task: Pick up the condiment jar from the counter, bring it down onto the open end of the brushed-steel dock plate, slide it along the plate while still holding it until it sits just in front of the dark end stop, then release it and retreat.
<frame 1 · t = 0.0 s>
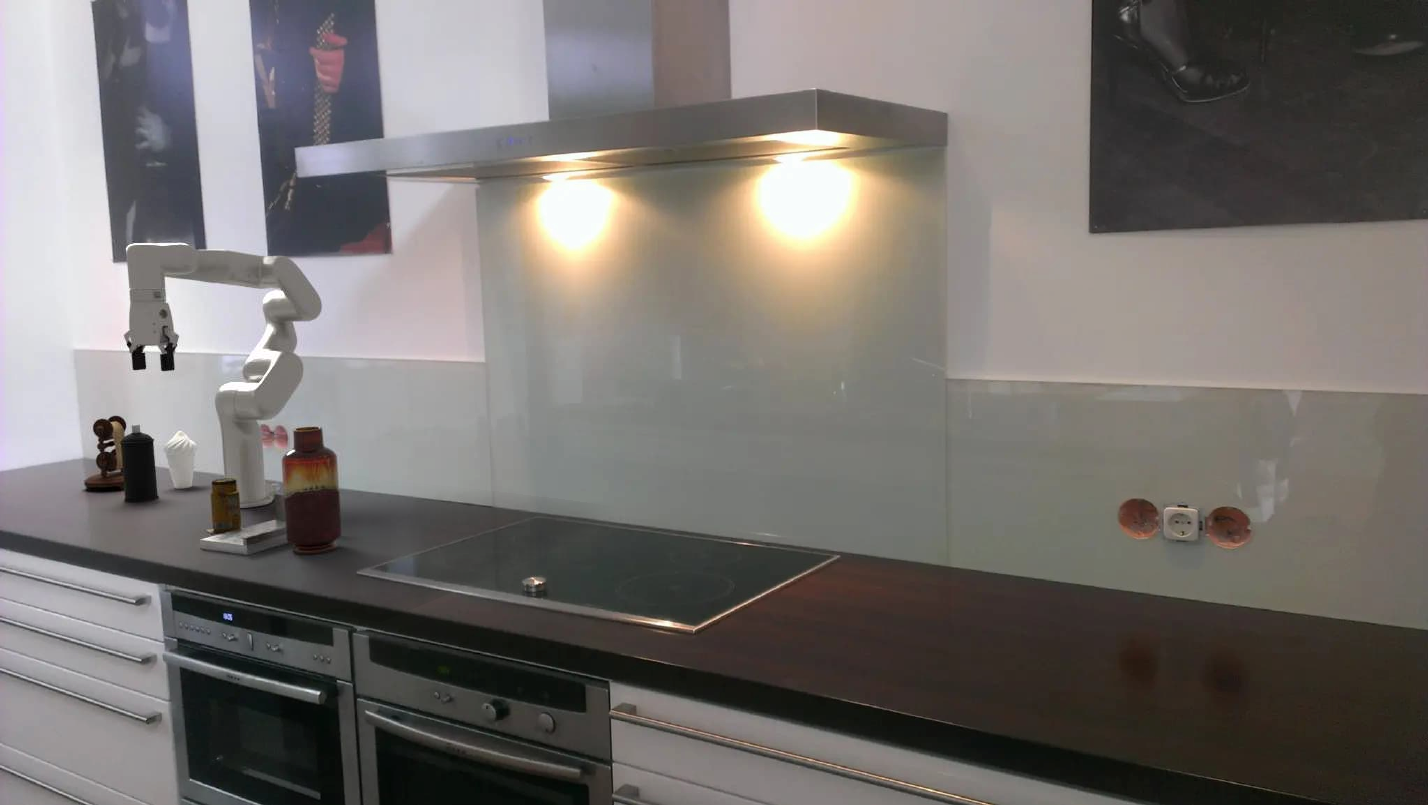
hand: (153, 370, 256), 37 cm above the worktop, tool pointing down, fingers open, 9 cm apart
aerosol can: (141, 500, 290), on the worktop
brown wooden figurine: (114, 488, 308), on the worktop
vase: (315, 550, 233), on the worktop
condiment: (227, 532, 251), on the worktop
soft serve ice cream cone: (183, 487, 306), on the worktop
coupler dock: (264, 540, 242), on the worktop
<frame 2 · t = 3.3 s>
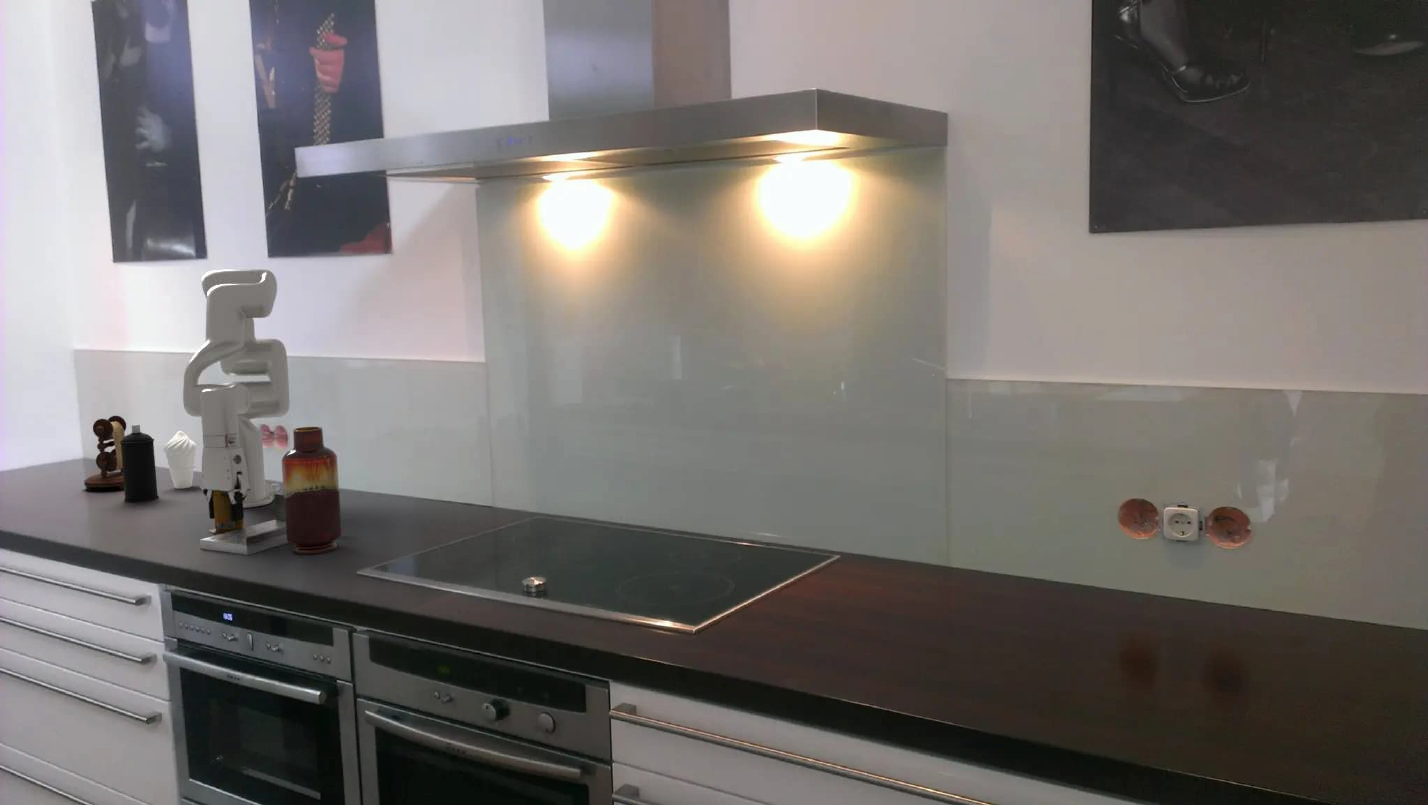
hand: (226, 518, 251), 3 cm above the worktop, tool pointing down, fingers closed on condiment, 6 cm apart
condiment: (230, 532, 251), on the worktop, touching gripper
everything else where it was.
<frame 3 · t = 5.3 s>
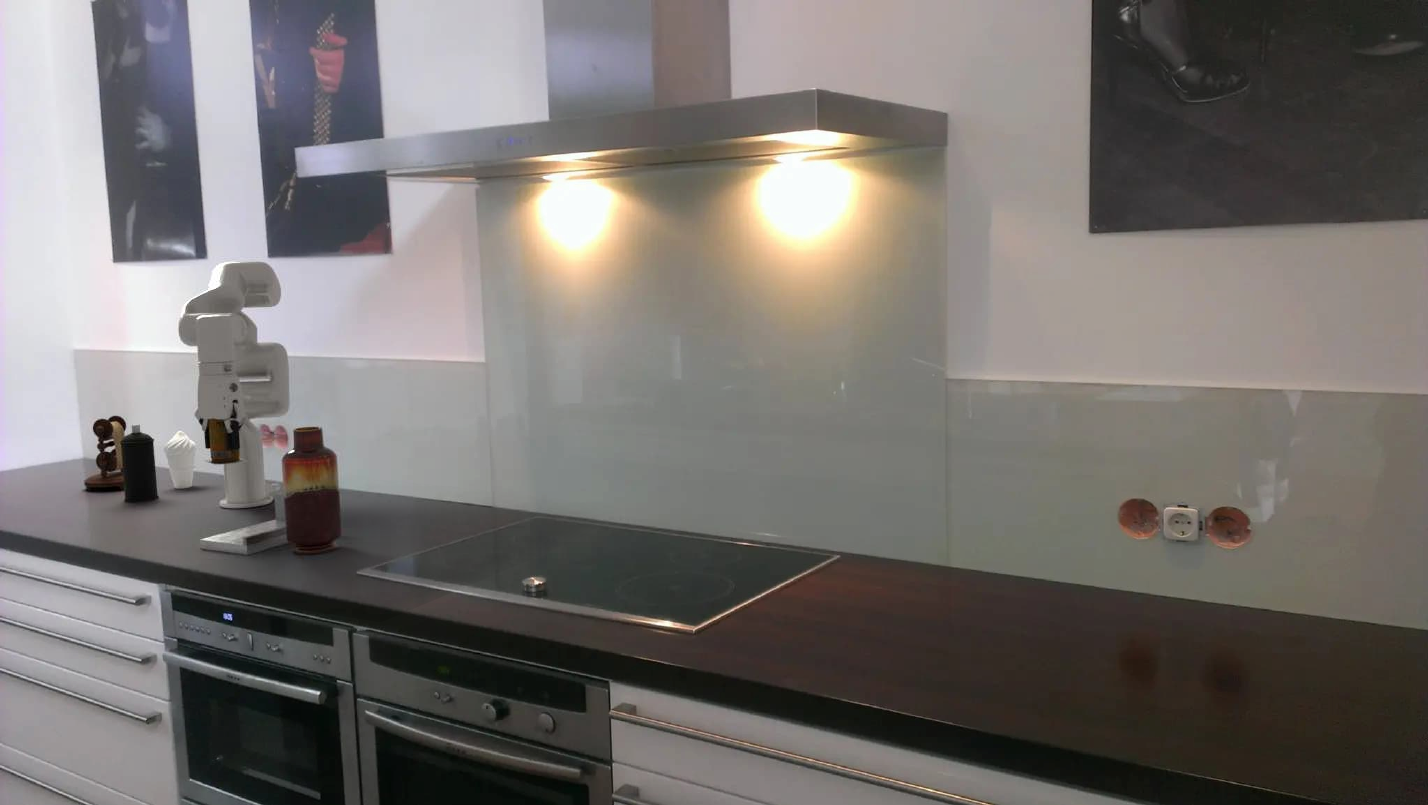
hand: (222, 447, 248), 20 cm above the worktop, tool pointing down, fingers closed on condiment, 6 cm apart
condiment: (226, 462, 248), point 16 cm above the worktop, touching gripper
everything else where it was.
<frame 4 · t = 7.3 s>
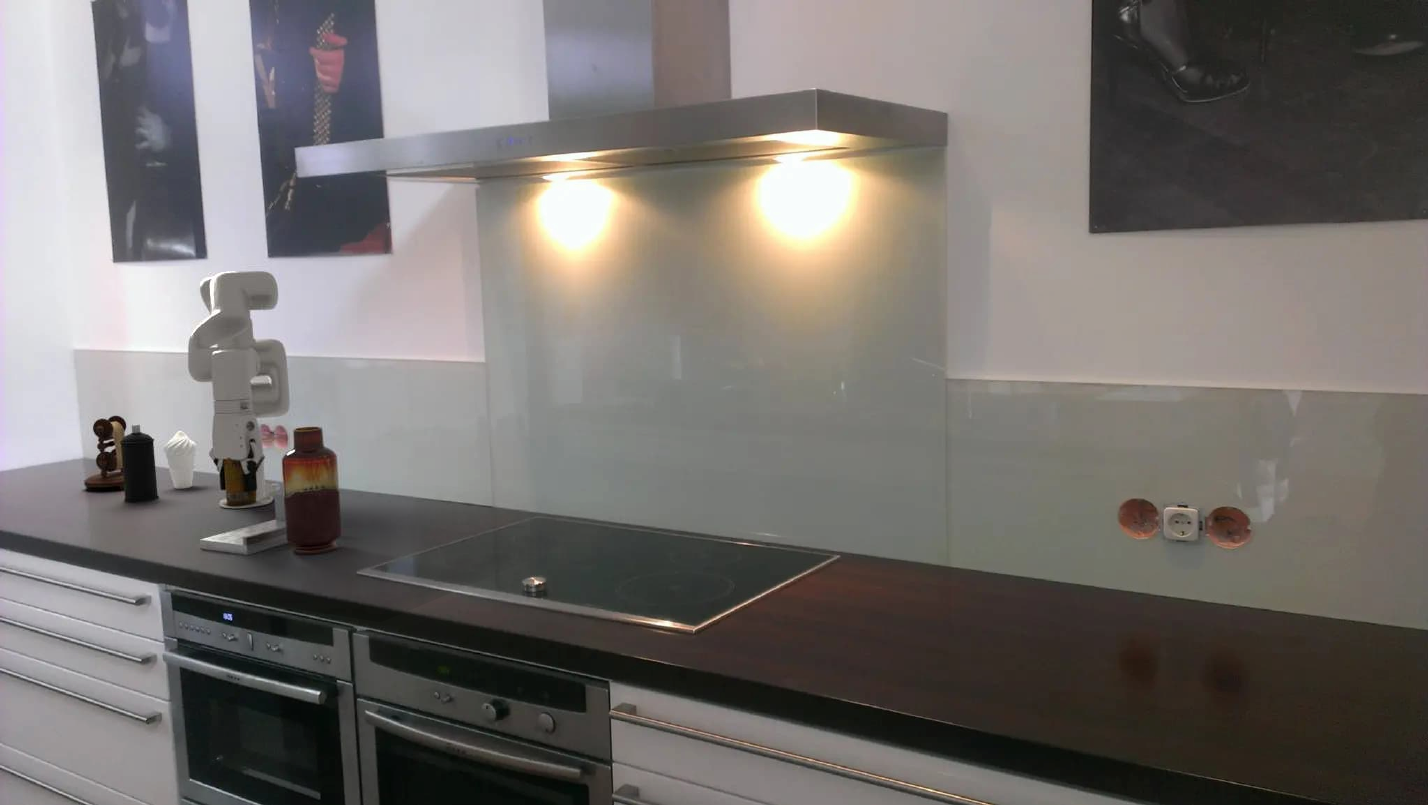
hand: (238, 489, 235), 13 cm above the worktop, tool pointing down, fingers closed on condiment, 6 cm apart
condiment: (242, 504, 235), point 9 cm above the worktop, touching gripper
everything else where it was.
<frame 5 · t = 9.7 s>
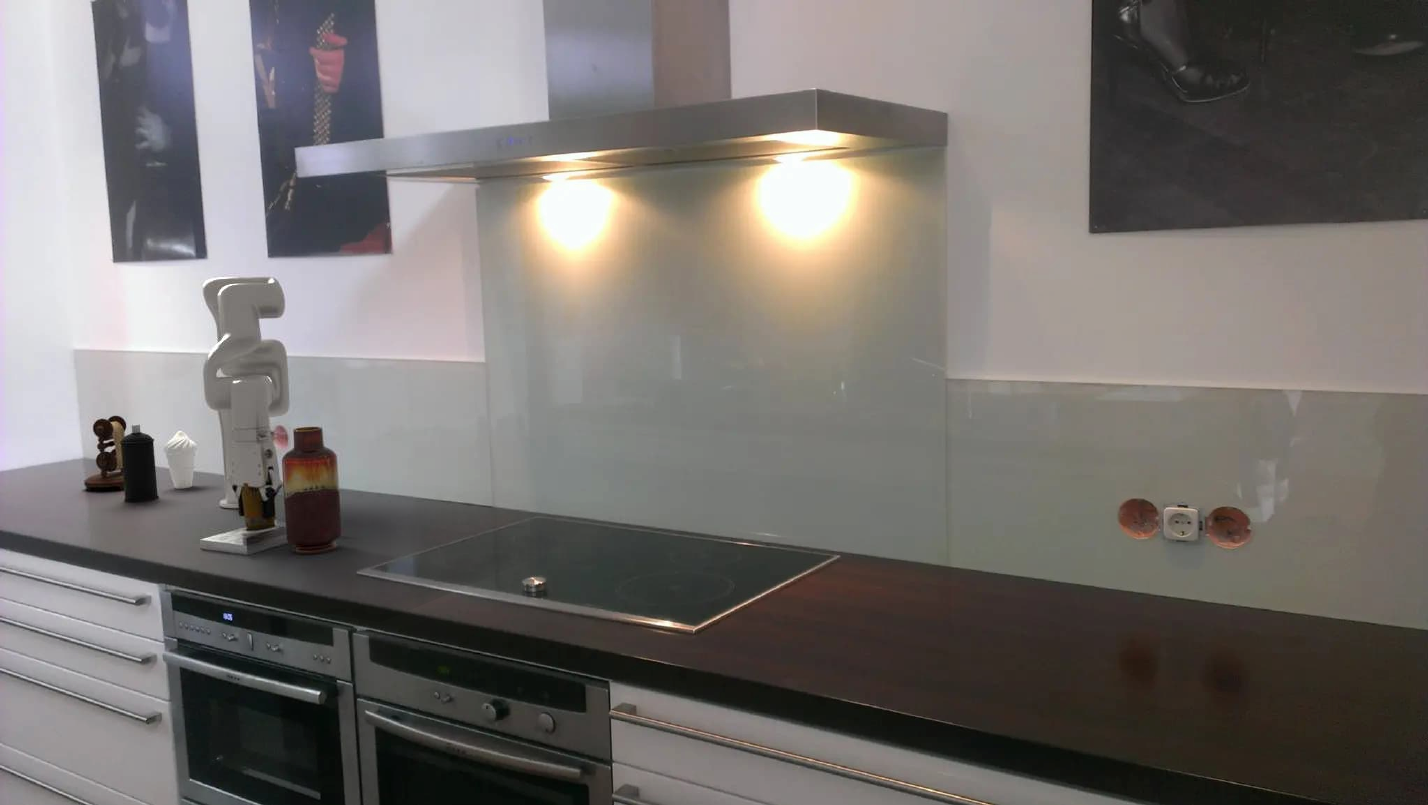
hand: (257, 515, 240), 6 cm above the worktop, tool pointing down, fingers closed on condiment, 6 cm apart
condiment: (261, 529, 240), point 3 cm above the worktop, touching gripper
everything else where it was.
when the fingers open (6 cm above the worktop, at t = 11.5 s): condiment stays where it is, resting on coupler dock.
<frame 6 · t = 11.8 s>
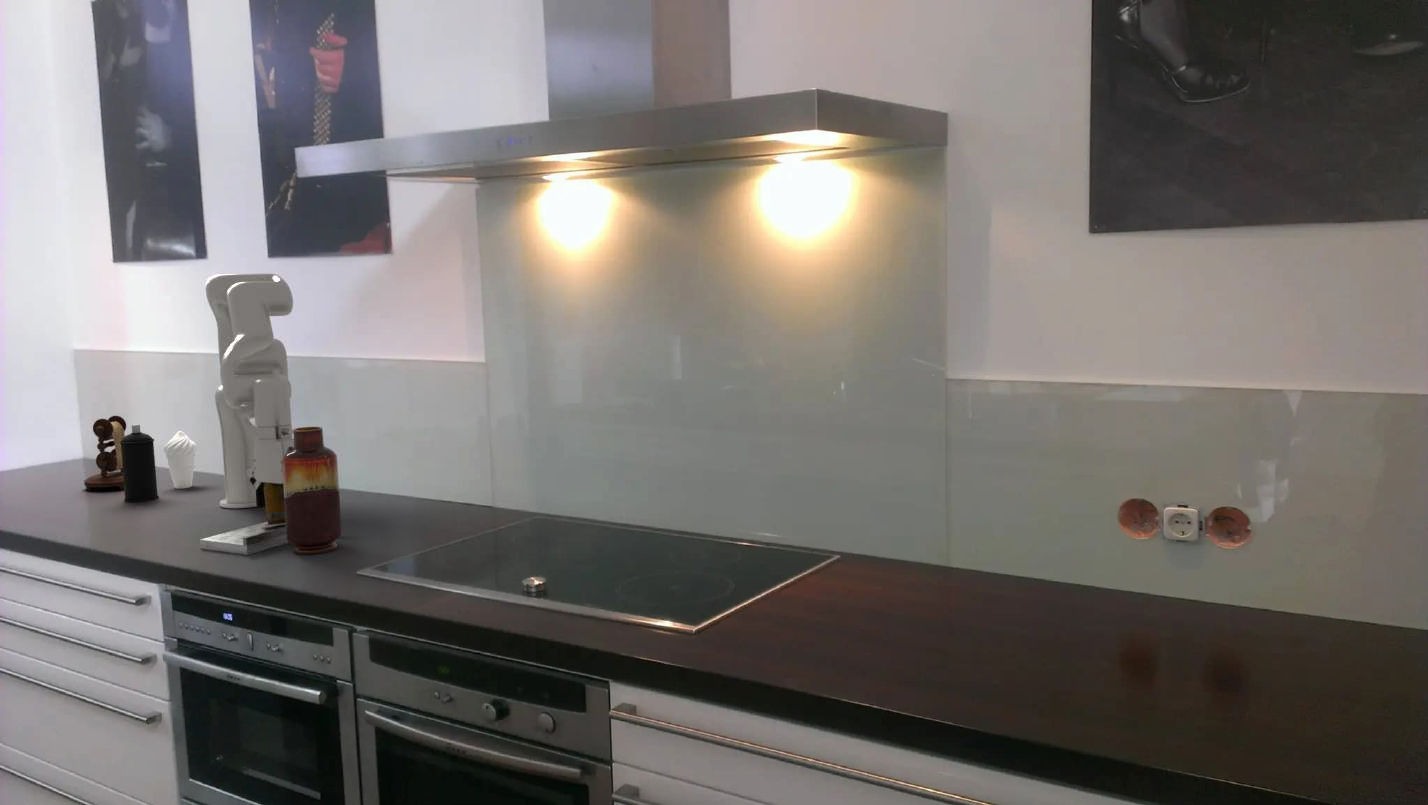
hand: (278, 508, 246), 6 cm above the worktop, tool pointing down, fingers open, 9 cm apart
condiment: (282, 524, 245), point 3 cm above the worktop, touching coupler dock
everything else where it was.
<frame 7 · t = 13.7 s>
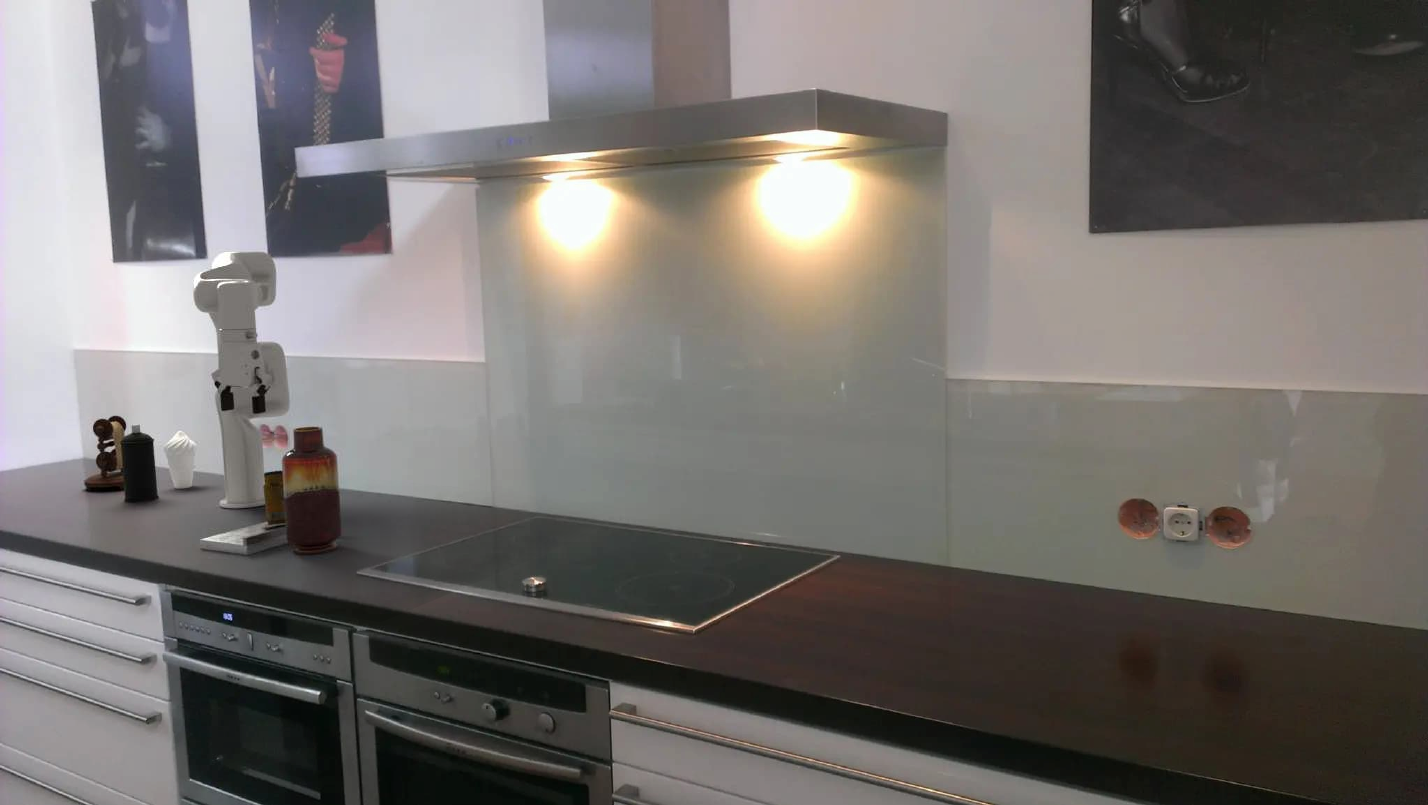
hand: (243, 411, 248), 28 cm above the worktop, tool pointing down, fingers open, 9 cm apart
nothing on the worktop moved.
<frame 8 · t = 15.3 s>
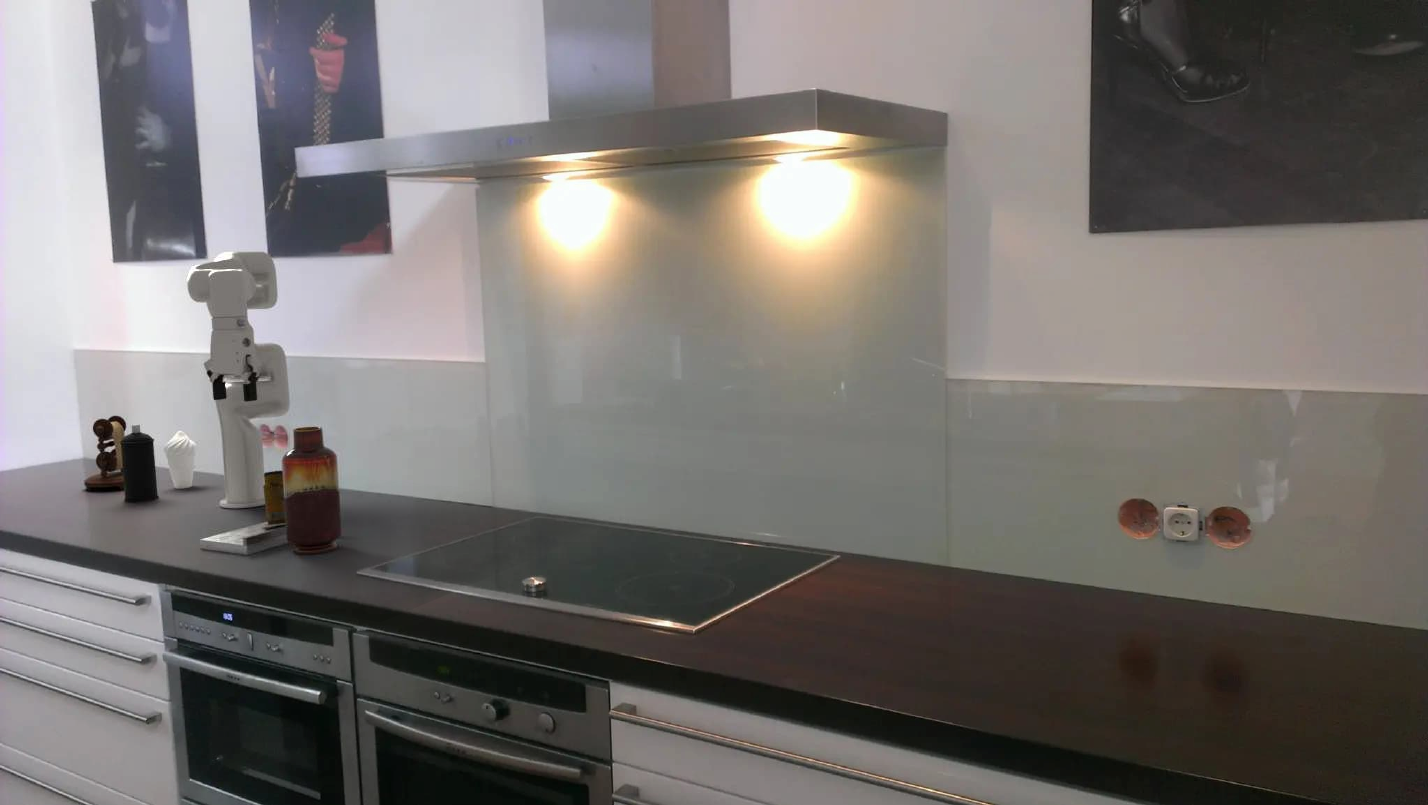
hand: (235, 400, 248), 30 cm above the worktop, tool pointing down, fingers open, 9 cm apart
nothing on the worktop moved.
at the end: condiment inside the target area on the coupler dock (2.3 cm from its centre), point 2.7 cm above the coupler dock's base; condiment tilted 12° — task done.
